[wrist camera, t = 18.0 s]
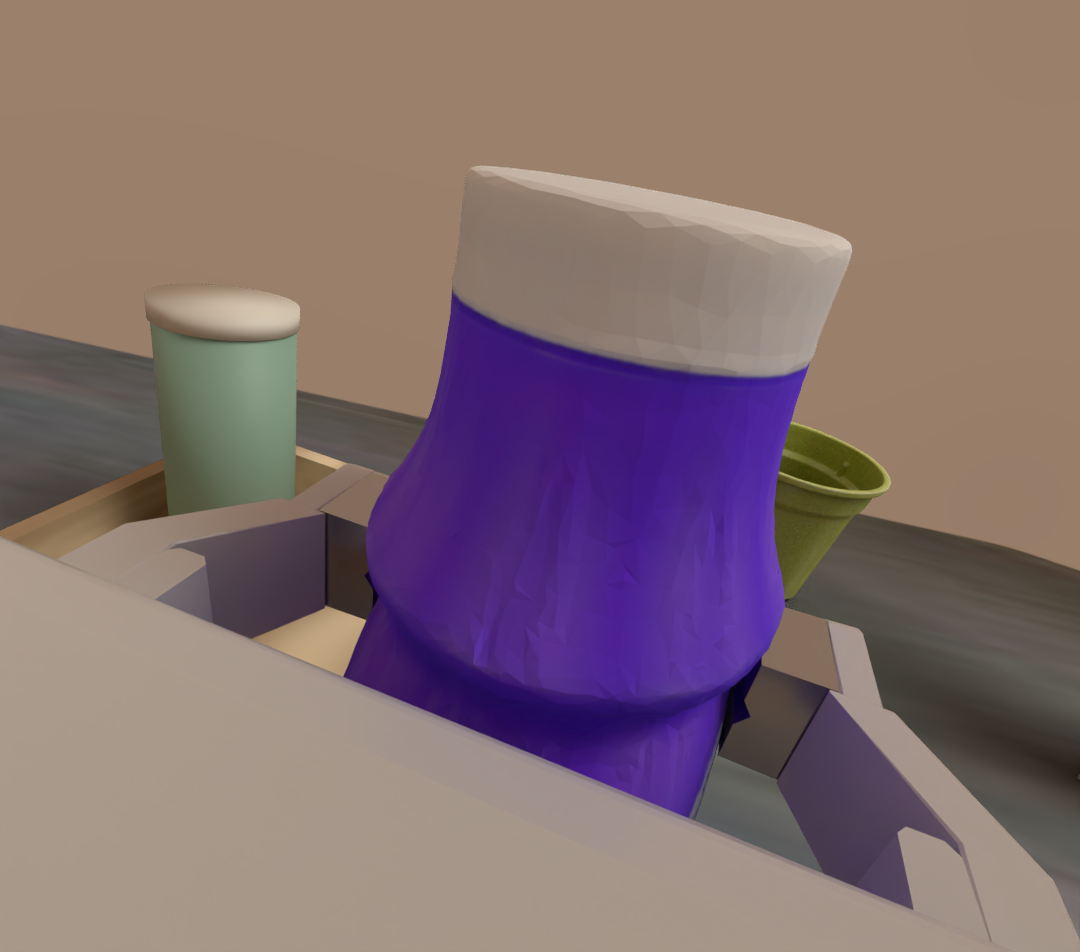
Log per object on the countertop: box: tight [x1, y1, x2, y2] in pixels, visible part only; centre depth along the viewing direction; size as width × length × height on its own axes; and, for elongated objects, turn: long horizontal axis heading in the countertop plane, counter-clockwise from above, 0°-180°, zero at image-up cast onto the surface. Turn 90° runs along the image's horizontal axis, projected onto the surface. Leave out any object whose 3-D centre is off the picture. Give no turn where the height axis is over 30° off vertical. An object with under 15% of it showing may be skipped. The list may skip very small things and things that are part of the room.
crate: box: [0, 446, 366, 677], centre depth 25 cm, size 18×14×4 cm
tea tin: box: [144, 284, 300, 516], centre depth 25 cm, size 5×5×12 cm
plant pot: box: [774, 422, 891, 600], centre depth 34 cm, size 9×9×9 cm
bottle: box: [343, 166, 852, 820], centre depth 10 cm, size 7×6×17 cm
